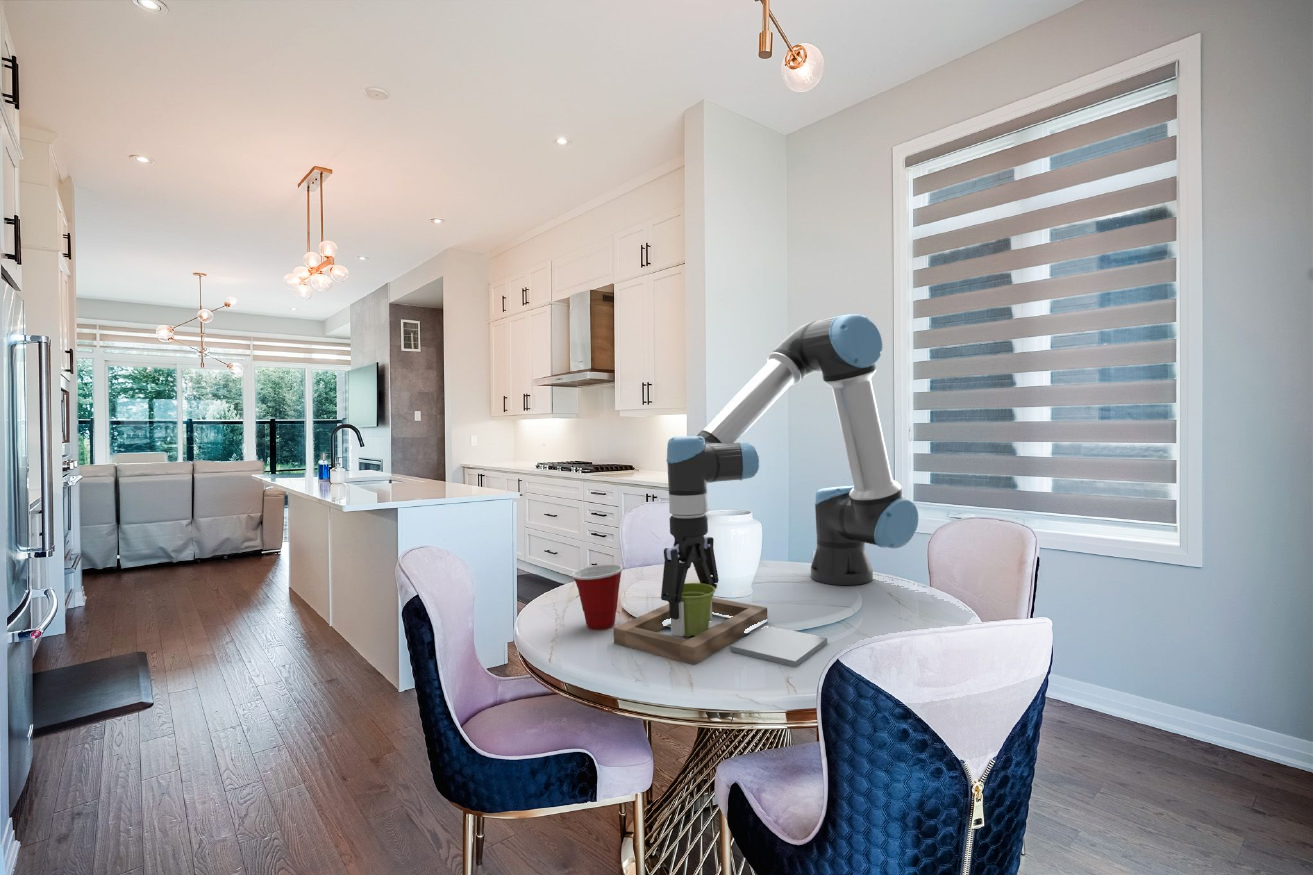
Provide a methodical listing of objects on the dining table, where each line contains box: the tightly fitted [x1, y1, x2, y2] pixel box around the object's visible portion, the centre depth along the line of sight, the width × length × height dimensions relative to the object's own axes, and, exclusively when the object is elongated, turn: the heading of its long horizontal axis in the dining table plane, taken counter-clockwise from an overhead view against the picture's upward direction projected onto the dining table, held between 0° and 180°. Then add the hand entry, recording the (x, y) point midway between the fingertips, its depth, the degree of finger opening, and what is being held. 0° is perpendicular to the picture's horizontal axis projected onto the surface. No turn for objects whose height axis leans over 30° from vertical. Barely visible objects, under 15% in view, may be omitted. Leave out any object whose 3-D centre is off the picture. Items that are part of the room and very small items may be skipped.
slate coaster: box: [729, 626, 828, 668], centre depth 119 cm, size 13×13×1 cm
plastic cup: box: [571, 563, 624, 631], centre depth 135 cm, size 11×11×12 cm
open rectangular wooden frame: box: [612, 597, 768, 665], centre depth 128 cm, size 26×19×3 cm
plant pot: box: [675, 582, 716, 638], centre depth 128 cm, size 9×9×9 cm
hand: (692, 627), depth 128 cm, fingers closed on plant pot, 9 cm apart
